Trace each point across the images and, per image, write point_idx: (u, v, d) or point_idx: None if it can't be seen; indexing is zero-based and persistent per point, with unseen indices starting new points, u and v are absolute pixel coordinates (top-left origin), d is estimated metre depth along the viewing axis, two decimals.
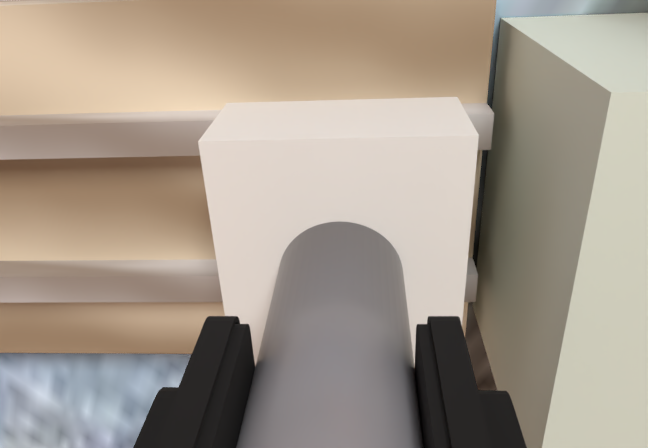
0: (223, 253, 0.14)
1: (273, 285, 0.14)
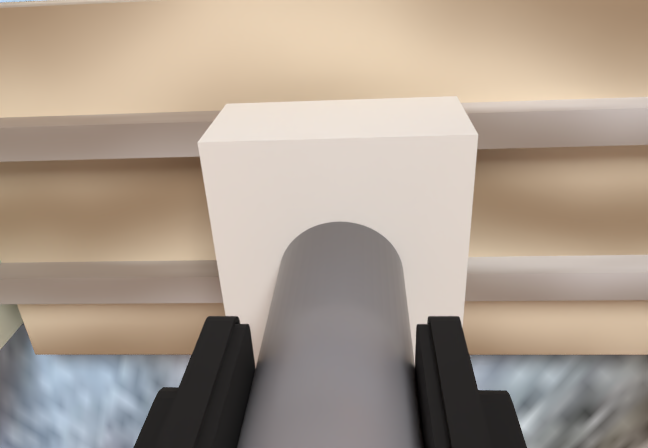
0: (223, 254, 0.14)
1: (273, 285, 0.14)
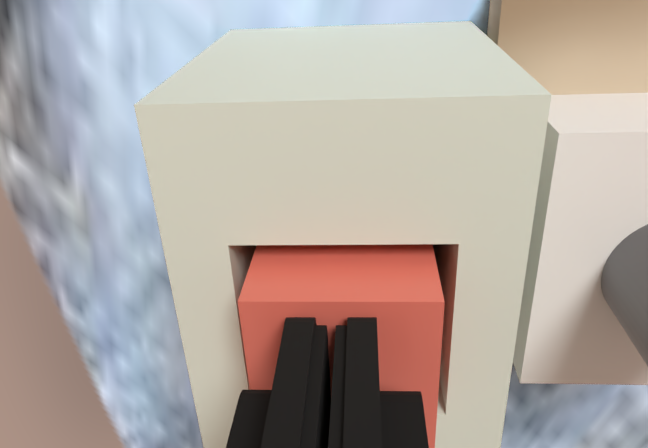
0: (549, 249, 0.13)
1: (592, 282, 0.14)
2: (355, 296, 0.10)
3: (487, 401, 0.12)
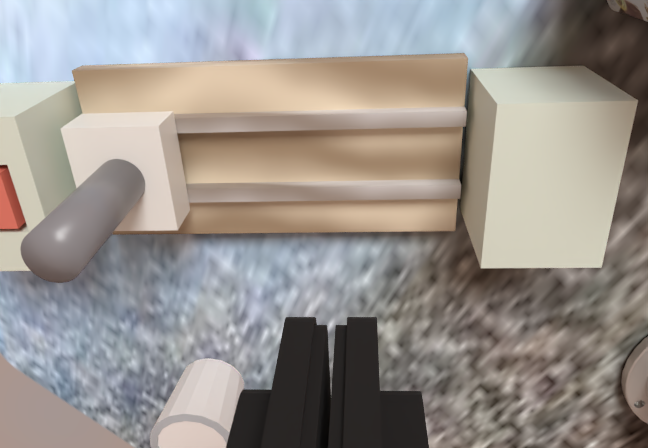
0: (75, 172, 0.35)
1: None
2: None
3: None
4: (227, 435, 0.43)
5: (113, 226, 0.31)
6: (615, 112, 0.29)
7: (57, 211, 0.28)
